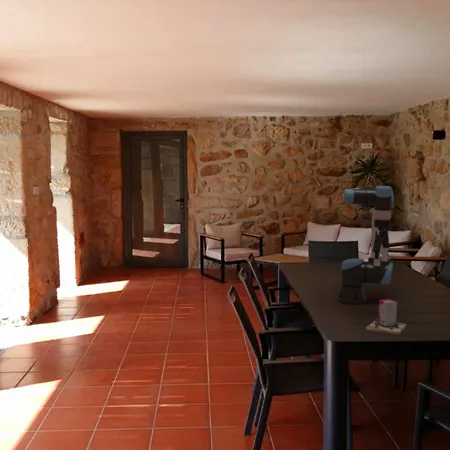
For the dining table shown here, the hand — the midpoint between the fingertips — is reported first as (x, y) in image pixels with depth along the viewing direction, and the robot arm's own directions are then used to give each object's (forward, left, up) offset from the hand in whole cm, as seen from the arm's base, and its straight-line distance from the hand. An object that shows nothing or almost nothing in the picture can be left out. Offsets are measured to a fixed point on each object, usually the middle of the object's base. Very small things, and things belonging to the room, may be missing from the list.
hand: (380, 263), depth 256 cm
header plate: (+13, +7, -27) cm, 31 cm away
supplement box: (+13, +7, -26) cm, 30 cm away
